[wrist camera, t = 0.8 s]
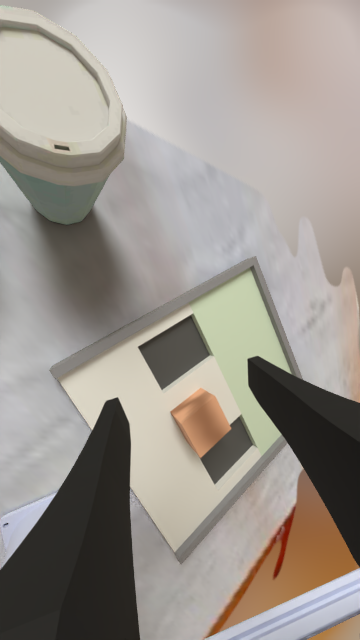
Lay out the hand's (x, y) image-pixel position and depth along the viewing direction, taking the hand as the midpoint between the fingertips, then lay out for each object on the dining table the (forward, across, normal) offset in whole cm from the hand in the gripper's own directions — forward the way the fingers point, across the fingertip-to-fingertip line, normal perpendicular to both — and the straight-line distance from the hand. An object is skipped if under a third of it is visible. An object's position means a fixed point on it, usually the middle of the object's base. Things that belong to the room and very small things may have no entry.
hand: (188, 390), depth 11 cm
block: (+14, -2, +20) cm, 24 cm away
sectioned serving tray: (+17, -5, +20) cm, 26 cm away
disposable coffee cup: (+25, +8, -12) cm, 29 cm away
